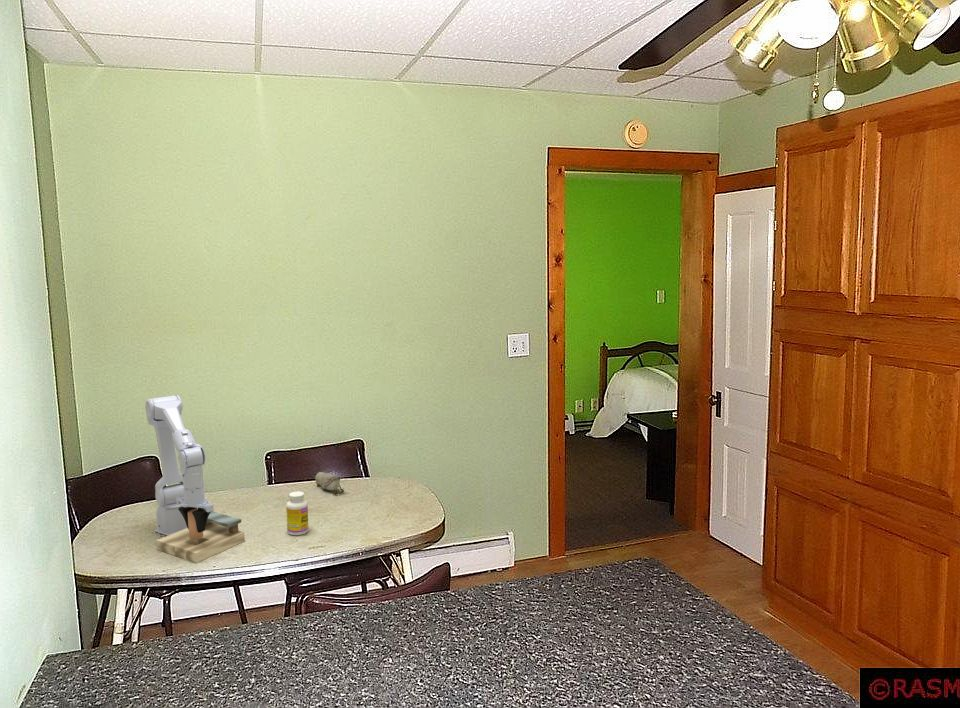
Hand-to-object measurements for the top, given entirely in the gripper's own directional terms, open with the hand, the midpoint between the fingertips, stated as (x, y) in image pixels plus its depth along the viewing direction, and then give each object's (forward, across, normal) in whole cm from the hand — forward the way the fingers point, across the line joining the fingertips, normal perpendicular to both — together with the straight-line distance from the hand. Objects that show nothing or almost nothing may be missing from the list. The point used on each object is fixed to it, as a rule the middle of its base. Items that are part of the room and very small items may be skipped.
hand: (196, 529), depth 223 cm
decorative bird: (+7, -3, +61) cm, 61 cm away
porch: (+6, -2, +3) cm, 7 cm away
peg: (+2, 0, 0) cm, 2 cm away
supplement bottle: (+7, +16, +26) cm, 31 cm away
